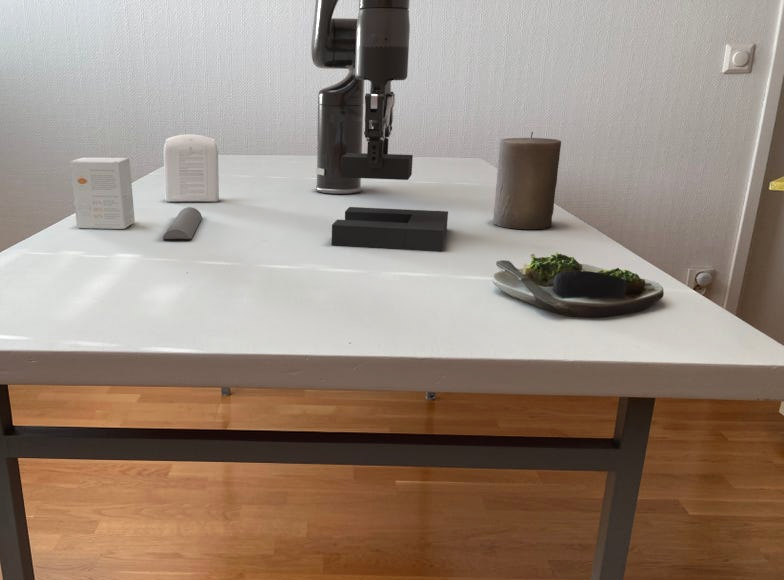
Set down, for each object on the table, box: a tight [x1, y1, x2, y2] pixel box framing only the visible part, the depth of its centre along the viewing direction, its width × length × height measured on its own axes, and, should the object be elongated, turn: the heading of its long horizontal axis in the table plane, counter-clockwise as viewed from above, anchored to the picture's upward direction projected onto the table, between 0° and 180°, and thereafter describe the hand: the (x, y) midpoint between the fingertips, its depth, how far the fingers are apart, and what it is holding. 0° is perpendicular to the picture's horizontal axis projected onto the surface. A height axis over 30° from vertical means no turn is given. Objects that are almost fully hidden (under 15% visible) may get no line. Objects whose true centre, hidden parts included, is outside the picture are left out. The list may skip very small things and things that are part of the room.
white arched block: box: [163, 133, 220, 203], centre depth 147 cm, size 10×4×12 cm, turn 98°
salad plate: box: [492, 251, 665, 318], centre depth 90 cm, size 19×18×5 cm
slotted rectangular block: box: [331, 206, 449, 252], centre depth 119 cm, size 16×16×3 cm
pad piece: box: [341, 152, 414, 181], centre depth 116 cm, size 6×10×3 cm, turn 78°
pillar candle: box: [492, 131, 562, 230], centre depth 128 cm, size 10×10×15 cm
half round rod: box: [162, 206, 203, 240], centre depth 124 cm, size 4×20×2 cm, turn 2°
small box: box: [69, 156, 136, 230], centre depth 124 cm, size 8×6×10 cm
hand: (377, 165), depth 116 cm, fingers closed on pad piece, 6 cm apart
